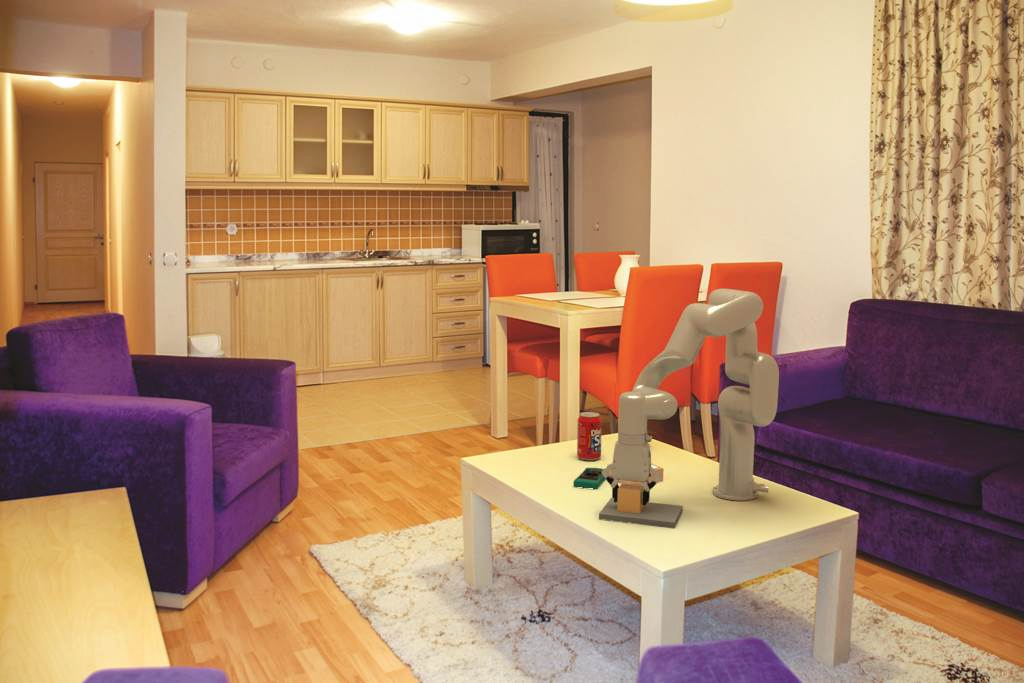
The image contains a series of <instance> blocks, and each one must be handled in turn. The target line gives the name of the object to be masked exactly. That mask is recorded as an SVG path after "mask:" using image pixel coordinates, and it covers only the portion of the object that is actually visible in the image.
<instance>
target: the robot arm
mask: <svg viewBox="0 0 1024 683" xmlns="http://www.w3.org/2000/svg"><path fill="white" fill-rule="evenodd" d="M763 310H764V303H763V300H762V298H761V297H760V295H758V294H757V293H755V292H752V291H748V290H739V289H731V288H717V289H715V290H713V291H711V292H710V294H709V296H708V303H698V302H694V303H690V304H689V305H687V306H686V307H685V308H684V310H683V311H682V313H681V315H680V317H679V320H678V321H677V323H676V326H675V328H674V330H673V332H672V334H671V336H670V339H669V340H668V342H667V345H666V346H665V348H664V349H663V351H661V353H659V354H658V355H657V356H656V357H654V358H653V359H652V360H651V361H650V362H649V363H648V364H647V365H645V367H644V368H643V369H642V370H641V372H640V373H639V375H638V377H637V379H636V381H635V383H634V386H633V387H632V390H631V391H625V392H623V393H621V394H620V396H619V397H618V429H617V430H618V432H617V434H618V435H617V441H616V442H615V444H614V449H613V455H612V463H611V464H610V465H608V466H606V467H605V468H603V469H604V470H602V472H601V473H602V475H603V476H604V477H605V478H606V479H605V480H606V482H607V483H608V484H609V485H610V488H612V491H611V492H612V493H611V498H614V502H617V501H618V488H619V487H620V485H619V481H628V482H629V481H630V482H640V483H641V485H643V487H644V491H643V506H646V504H647V502H650V495H651V494H650V492H651V490H652V489H653V488H654V487H655V486H656V485H657V484H658V483H659V482H660V481H661V480H662V478H663V476H662V475H661V474H660V473H659V472H658V471H657V470H655V469H654V468H653V467H652V453H651V452H652V451H651V446H650V445H651V444H650V442H647V441H651V442H652V440H653V436H652V435H650V434H649V433H648V434H649V435H650V436H649V435H648V434H647V431H648V420H660V421H661V420H667V419H670V418H671V417H673V416H674V415H675V414H676V412H677V410H678V400H677V399H676V398H675V396H674V395H672V394H671V393H669V392H667V391H665V390H660V389H659V386H660V385H661V383H662V382H663V380H665V379H666V377H668V376H669V375H671V374H672V373H675V372H676V371H679V370H683V369H684V368H688V367H690V366H691V365H693V364H694V363H695V361H696V359H697V357H698V355H699V352H700V350H701V348H702V346H703V344H704V342H705V339H706V338H707V337H712V338H723V337H725V339H726V341H725V342H726V345H725V360H724V361H725V362H724V370H725V371H724V372H725V375H726V376H727V377H728V379H729V380H731V381H734V382H737V383H740V384H743V385H744V384H745V385H748V386H749V388H748V387H746V386H741V385H730V386H727V387H725V388H724V389H722V391H721V392H720V394H719V397H718V400H717V407H718V414H719V420H720V421H719V424H720V438H719V458H718V459H719V462H718V484H717V485H715V486H714V487H712V494H713V495H714V496H716V497H718V498H721V499H725V500H730V501H738V502H739V501H743V502H744V501H750V500H755V499H756V498H757V497H758V492H760V493H766V494H767V493H768V494H769V485H766V484H765V483H757V482H756V481H755V478H754V476H753V475H754V458H755V457H754V455H755V442H756V441H755V440H756V439H755V431H754V430H755V429H754V426H755V427H766V426H769V425H770V424H771V423H773V421H774V419H775V418H776V414H777V410H778V398H779V385H780V384H779V383H780V370H779V366H778V363H777V362H776V360H775V358H774V356H771V355H770V354H768V353H764V352H761V351H758V330H757V325H756V323H755V322H757V320H758V319H759V318H760V317H761V316H762V314H763ZM646 442H647V443H646ZM609 472H611V475H610V473H609ZM651 476H652V477H653V478H654V479H653V480H651V481H649V479H650V478H651Z"/></svg>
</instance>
